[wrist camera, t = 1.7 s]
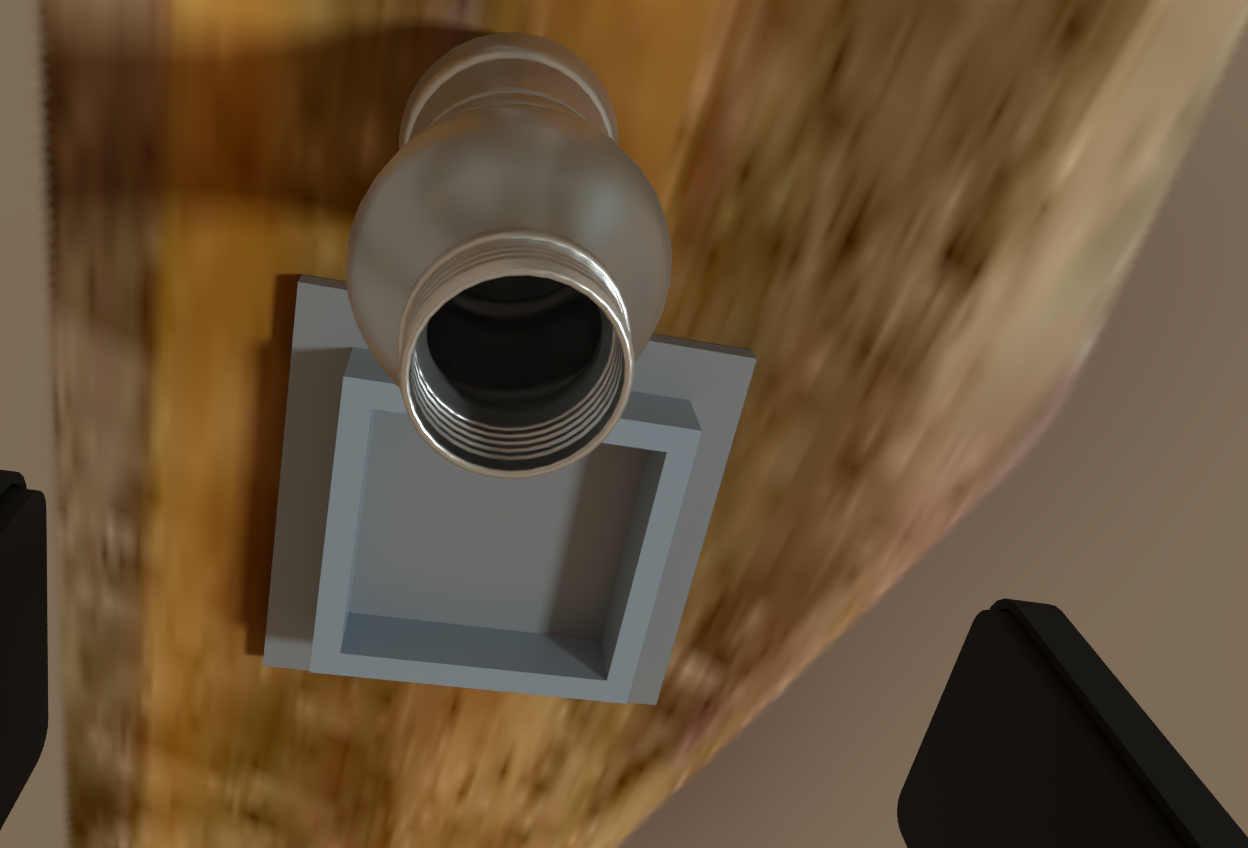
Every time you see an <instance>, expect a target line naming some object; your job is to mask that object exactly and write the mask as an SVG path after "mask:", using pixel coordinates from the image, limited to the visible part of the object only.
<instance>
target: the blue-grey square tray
mask: <svg viewBox="0 0 1248 848" xmlns="http://www.w3.org/2000/svg"><path fill="white" fill-rule="evenodd" d="M756 360H757V358H756V357H755V355H754V353H753V351H752V350H746V349H741V348H735V347H729V346H723V345H717V344H711V343H705V342H699V341H693V340H687V339H681V338H675V337H670V336H664V335H658V334H652V336H651V338H650V340H649V342H648V344H647V346H646V348H645V350H644V351H643V353H642V354H641V355H640V357H639V358H638V360H637V361H636V362H635V364H634V378H633V384H632V388H631V392H630V396H629V400H628V403H627V405H626V407H625V409H624V412H623V414H622V416H621V418H620V420H619V422H618V423H617V424H616V426H615V427H614V428H613V430H612V431H611V432H610V434H609V435H608V436H607V438H606V439H605V440H604V441H603V442H602V443H600V444H599V445H598V446H597V447H596V448H595V449H594V450H593V451H592V452H591V453H589V454H588V455H586V456H585V457H583V458H582V459H580V460H578V461H577V462H575V463H574V464H572V465H570V466H568V467H565V468H563V469H560V470H558V471H556V472H553V473H550V474H546V475H541V476H537V477H533V478H523V479H501V478H492V477H486V476H482V475H479V474H475V473H472V472H469V471H466V470H464V469H462V468H460V467H458V466H456V465H454V464H452V463H450V462H448V461H447V460H445V459H444V458H443V457H441V456H440V455H439V454H437V453H436V452H435V451H434V450H432V449H431V448H430V447H429V446H428V444H427V443H426V442H425V441H424V440H423V439H422V437H421V436H420V435H419V434H418V433H417V431H416V429H415V427H414V426H413V424H412V422H411V420H410V418H409V417H408V415H407V412H406V408H405V405H404V402H403V398H402V395H401V391H400V388H399V387H398V386H397V385H395V383H394V382H393V381H392V380H391V379H390V378H389V376H388V375H387V374H386V373H385V372H384V371H383V369H382V368H381V367H380V366H379V365H378V364H377V362H376V360H375V358H374V356H373V354H372V353H371V351H370V349H369V347H368V345H367V344H366V342H365V340H364V338H363V336H362V334H361V332H360V331H359V329H358V327H357V324H356V321H355V318H354V314H353V311H352V308H351V305H350V301H349V298H348V291H347V282H344V281H338V280H332V279H326V278H320V277H314V276H308V275H301V277H300V279H299V281H298V286H297V297H296V308H295V319H294V330H293V341H292V351H291V362H290V373H289V384H288V395H287V406H286V417H285V428H284V439H283V450H282V461H281V472H280V483H279V494H278V505H277V516H276V527H275V538H274V548H273V559H272V570H271V581H270V592H269V603H268V614H267V625H266V636H265V647H264V658H263V666H270V667H280V668H290V669H300V670H310V672H313V673H323V674H333V675H344V676H354V677H364V678H374V679H384V680H394V681H404V682H414V683H424V684H434V685H444V686H454V687H464V688H474V689H484V690H494V691H504V692H514V693H524V694H534V695H544V696H555V697H565V698H575V699H585V700H595V701H605V702H615V703H625V704H627V702H631V703H641V704H651V705H656V703H657V700H658V696H659V693H660V689H661V686H662V683H663V679H664V676H665V672H666V669H667V665H668V662H669V659H670V655H671V652H672V648H673V645H674V641H675V638H676V634H677V631H678V628H679V624H680V621H681V617H682V614H683V610H684V607H685V604H686V600H687V597H688V593H689V590H690V586H691V583H692V579H693V576H694V573H695V569H696V566H697V562H698V559H699V555H700V552H701V549H702V545H703V542H704V538H705V535H706V531H707V528H708V525H709V521H710V518H711V514H712V511H713V507H714V504H715V500H716V497H717V494H718V490H719V487H720V483H721V480H722V476H723V473H724V470H725V466H726V463H727V459H728V456H729V452H730V449H731V445H732V442H733V439H734V435H735V432H736V428H737V425H738V421H739V418H740V415H741V411H742V408H743V404H744V401H745V397H746V394H747V391H748V387H749V384H750V380H751V377H752V373H753V370H754V366H755V363H756Z"/></svg>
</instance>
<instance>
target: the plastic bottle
mask: <svg viewBox="0 0 1248 848" xmlns="http://www.w3.org/2000/svg"><path fill="white" fill-rule="evenodd" d="M671 260H672V249H671V243H670V237H669V230H668V224H667V220H666V217H665V215H664V212H663V210H662V207H661V204H660V202H659V199H658V196H657V194H656V192H655V191H654V189H653V187H652V186H651V184H650V183H649V181H648V180H647V178H646V177H645V175H644V173H643V172H642V170H641V169H640V167H639V166H638V165H637V164H636V163H635V162H634V161H633V159H632V158H631V157H630V156H629V155H628V154H627V153H626V152H625V151H624V150H623V149H622V148H621V147H620V146H619V145H618V128H617V122H616V116H615V111H614V109H613V106H612V103H611V101H610V98H609V96H608V93H607V91H606V89H605V88H604V86H603V85H602V83H601V81H600V80H599V78H598V77H597V75H596V74H595V72H594V71H593V70H592V69H591V68H590V67H589V66H588V65H587V64H586V63H585V62H584V61H583V60H582V59H581V58H580V57H579V56H577V55H576V54H574V53H573V52H571V51H570V50H568V49H567V48H565V47H564V46H562V45H560V44H558V43H556V42H553V41H551V40H548V39H546V38H543V37H541V36H535V35H530V34H525V33H519V32H517V33H494V34H490V35H485V36H481V37H477V38H473V39H471V40H469V41H467V42H465V43H463V44H460V45H458V46H456V47H454V48H453V49H451V50H450V51H448V52H447V53H446V54H444V55H443V56H442V57H440V58H439V59H438V60H436V61H435V62H434V63H433V64H432V65H431V67H430V68H429V69H428V70H427V71H426V72H425V73H424V74H423V75H422V77H421V78H420V79H419V81H418V83H417V84H416V86H415V88H414V89H413V91H412V93H411V95H410V96H409V98H408V101H407V104H406V107H405V110H404V113H403V116H402V119H401V127H400V134H399V151H398V152H397V153H396V155H395V156H394V157H393V158H392V159H391V160H390V161H389V162H388V163H387V164H386V165H385V167H384V168H383V169H382V170H381V172H380V173H379V174H378V175H377V176H376V177H375V179H374V181H373V182H372V184H371V186H370V187H369V189H368V191H367V193H366V194H365V196H364V198H363V199H362V201H361V203H360V204H359V207H358V210H357V213H356V216H355V219H354V222H353V225H352V228H351V231H350V233H349V239H348V248H347V256H346V264H345V268H346V280H347V291H348V298H349V301H350V305H351V308H352V311H353V314H354V318H355V321H356V324H357V327H358V329H359V331H360V332H361V334H362V336H363V338H364V340H365V342H366V344H367V345H368V347H369V349H370V351H371V353H372V354H373V356H374V358H375V360H376V362H377V364H378V365H379V366H380V367H381V368H382V369H383V371H384V372H385V373H386V374H387V375H388V376H389V378H390V379H391V380H392V381H393V382H394V383H395V385H397V386H398V387H399V388H400V391H401V395H402V398H403V402H404V405H405V408H406V412H407V415H408V417H409V418H410V420H411V422H412V424H413V426H414V427H415V429H416V431H417V433H418V434H419V435H420V436H421V437H422V439H423V440H424V441H425V442H426V443H427V444H428V446H429V447H430V448H431V449H432V450H434V451H435V452H436V453H437V454H439V455H440V456H441V457H443V458H444V459H445V460H447V461H448V462H450V463H452V464H454V465H456V466H458V467H460V468H462V469H464V470H466V471H469V472H472V473H475V474H479V475H482V476H486V477H492V478H501V479H523V478H533V477H537V476H541V475H546V474H550V473H553V472H556V471H558V470H560V469H563V468H565V467H568V466H570V465H572V464H574V463H575V462H577V461H578V460H580V459H582V458H583V457H585V456H586V455H588V454H589V453H591V452H592V451H593V450H594V449H595V448H596V447H597V446H598V445H599V444H600V443H602V442H603V441H604V440H605V439H606V438H607V436H608V435H609V434H610V432H611V431H612V430H613V428H614V427H615V426H616V424H617V423H618V422H619V420H620V418H621V416H622V414H623V412H624V409H625V407H626V405H627V403H628V400H629V396H630V392H631V388H632V384H633V378H634V364H635V362H636V361H637V360H638V358H639V357H640V355H641V354H642V353H643V351H644V350H645V348H646V346H647V344H648V342H649V340H650V338H651V336H652V333H653V331H654V329H655V327H656V325H657V323H658V321H659V319H660V316H661V314H662V312H663V309H664V305H665V301H666V297H667V293H668V290H669V286H670V280H671Z"/></svg>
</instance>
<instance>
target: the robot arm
mask: <svg viewBox="0 0 1248 848" xmlns="http://www.w3.org/2000/svg"><path fill="white" fill-rule="evenodd" d="M46 536H47V535H46V500H45V497H44V494H43V493H42V492H41V491H38V490H29V489H27V488H26V483H25V480H24V477H23V476H22V475H21V474H20V473H19V472H13V471H6V470H0V830H1V828H2V826H3V824H4V822H5V820H6V818H7V817H8V815H9V813H10V811H11V809H12V808H13V806H14V804H15V802H16V800H17V799H18V797H19V795H20V793H21V791H22V790H23V788H24V786H25V784H26V782H27V780H28V779H29V777H30V775H31V773H32V771H33V769H34V768H35V766H36V764H37V762H38V760H39V757H40V755H41V752H42V749H43V746H44V743H45V739H46V734H47V728H48V655H47V654H48V647H47V646H48V643H47V537H46ZM897 817H898V824H899V828H900V831H901V834H902V836H903V838H904V841H905V843H906V845H907V848H1248V837H1247V836H1246V835H1245V834H1244V832H1243V831H1242V830H1241V829H1240V827H1239V826H1238V825H1237V824H1236V823H1235V821H1234V820H1233V819H1232V818H1231V816H1230V815H1229V814H1228V813H1227V812H1226V811H1225V809H1224V808H1223V807H1222V805H1221V804H1220V803H1219V802H1218V801H1217V799H1216V798H1215V797H1214V796H1213V795H1212V793H1211V792H1210V791H1209V790H1208V788H1207V787H1206V786H1205V785H1204V784H1203V782H1202V781H1201V780H1200V779H1199V777H1198V776H1197V775H1196V774H1195V773H1194V771H1193V770H1192V769H1191V768H1190V766H1189V765H1188V764H1187V763H1186V762H1185V760H1184V759H1183V758H1182V757H1181V756H1180V754H1179V753H1178V752H1177V751H1176V749H1175V748H1174V747H1173V746H1172V745H1171V744H1170V742H1169V741H1168V740H1167V739H1166V737H1165V736H1164V735H1163V734H1162V732H1161V731H1160V730H1159V729H1158V728H1157V726H1156V725H1155V724H1154V723H1153V722H1152V720H1151V719H1150V718H1149V717H1148V715H1147V714H1146V713H1145V712H1144V711H1143V709H1142V708H1141V707H1140V706H1139V704H1138V703H1137V702H1136V701H1135V700H1134V698H1133V697H1132V696H1131V695H1130V694H1129V692H1128V691H1127V690H1126V689H1125V687H1124V686H1123V685H1122V684H1121V683H1120V681H1119V680H1118V679H1117V678H1116V676H1115V675H1114V674H1113V673H1112V672H1111V670H1109V668H1108V667H1107V666H1106V665H1105V663H1104V662H1103V661H1102V660H1101V658H1100V657H1099V656H1098V655H1097V653H1096V652H1095V651H1094V650H1093V649H1092V647H1091V646H1090V645H1089V644H1088V642H1087V641H1086V640H1085V639H1084V638H1083V636H1082V635H1081V634H1080V633H1079V632H1078V631H1077V629H1076V628H1075V627H1074V625H1073V624H1072V623H1071V622H1070V621H1069V619H1068V618H1067V617H1066V616H1065V614H1064V613H1063V612H1062V611H1061V610H1060V609H1058V608H1057V607H1056V606H1054V605H1049V604H1043V603H1035V602H1028V601H1020V600H1012V599H1001V600H998V601H996V602H995V603H994V604H993V605H992V606H991V608H990V609H989V610H983V611H981V612H980V613H979V614H978V615H977V616H976V617H975V619H974V621H973V623H972V625H971V628H970V630H969V633H968V635H967V637H966V640H965V642H964V645H963V647H962V649H961V651H960V654H959V656H958V659H957V661H956V663H955V666H954V668H953V670H952V673H951V675H950V677H949V680H948V682H947V684H946V687H945V689H944V692H943V694H942V696H941V699H940V701H939V704H938V706H937V708H936V710H935V713H934V715H933V717H932V720H931V722H930V725H929V727H928V729H927V732H926V734H925V736H924V739H923V741H922V744H921V746H920V748H919V751H918V753H917V755H916V758H915V760H914V762H913V765H912V767H911V770H910V772H909V774H908V777H907V779H906V781H905V784H904V786H903V788H902V791H901V793H900V796H899V800H898V807H897Z"/></svg>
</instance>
